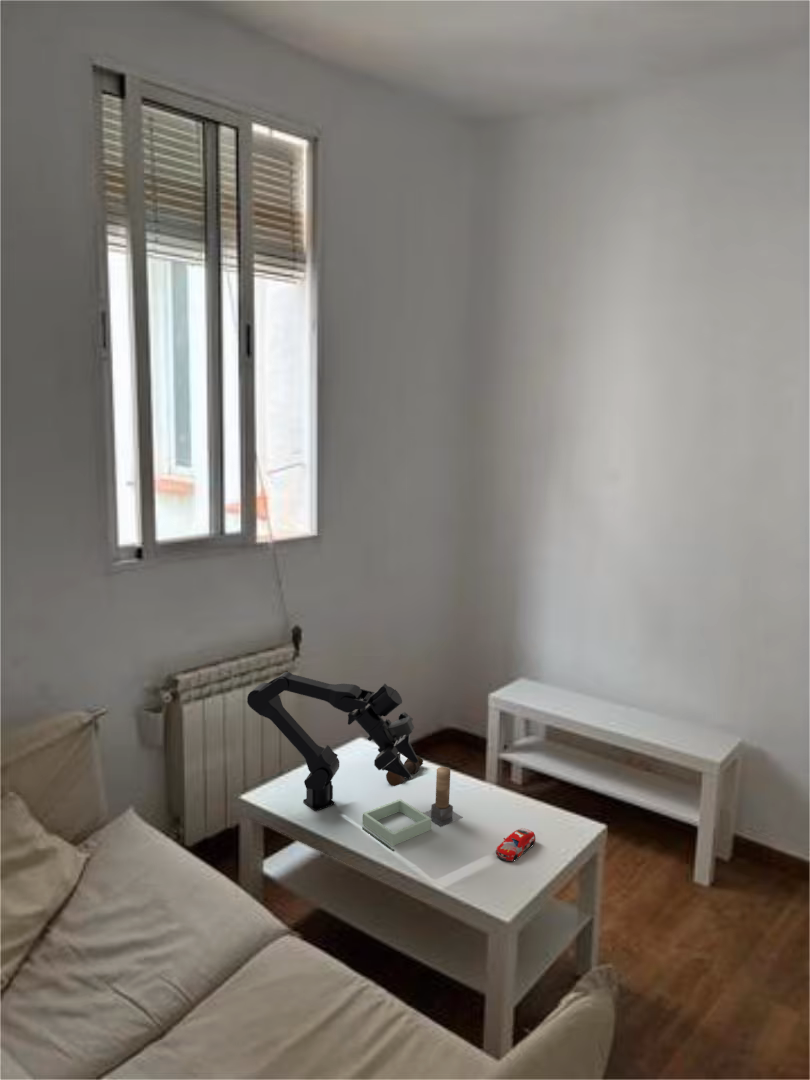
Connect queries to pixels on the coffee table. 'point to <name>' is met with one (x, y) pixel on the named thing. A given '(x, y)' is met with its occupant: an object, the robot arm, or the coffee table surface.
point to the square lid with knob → (444, 822)
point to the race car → (515, 844)
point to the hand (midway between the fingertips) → (413, 769)
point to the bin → (400, 835)
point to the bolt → (411, 767)
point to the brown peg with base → (442, 795)
